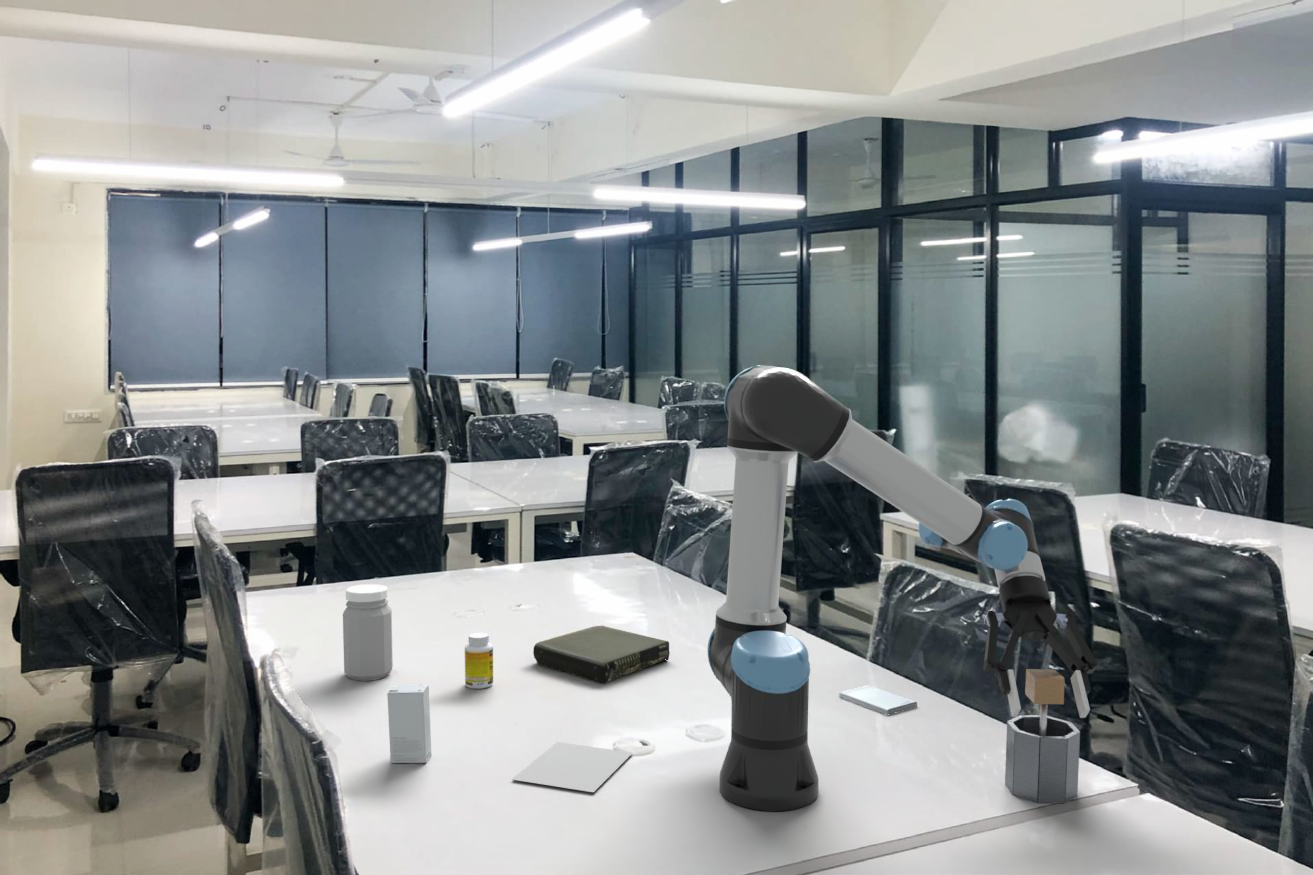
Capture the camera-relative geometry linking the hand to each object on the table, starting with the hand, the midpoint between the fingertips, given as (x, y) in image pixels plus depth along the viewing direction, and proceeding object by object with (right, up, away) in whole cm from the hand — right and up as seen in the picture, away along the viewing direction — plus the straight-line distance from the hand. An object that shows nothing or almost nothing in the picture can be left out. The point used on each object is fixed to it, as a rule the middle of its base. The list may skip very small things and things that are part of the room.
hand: (1050, 713), depth 162 cm
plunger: (0, -11, +4) cm, 12 cm away
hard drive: (-17, -10, +44) cm, 48 cm away
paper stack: (-75, -12, +18) cm, 78 cm away
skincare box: (-100, -12, +15) cm, 101 cm away
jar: (-118, -7, +60) cm, 133 cm away
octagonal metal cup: (0, -13, +4) cm, 14 cm away
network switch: (-71, -7, +68) cm, 99 cm away
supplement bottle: (-94, -8, +53) cm, 109 cm away
